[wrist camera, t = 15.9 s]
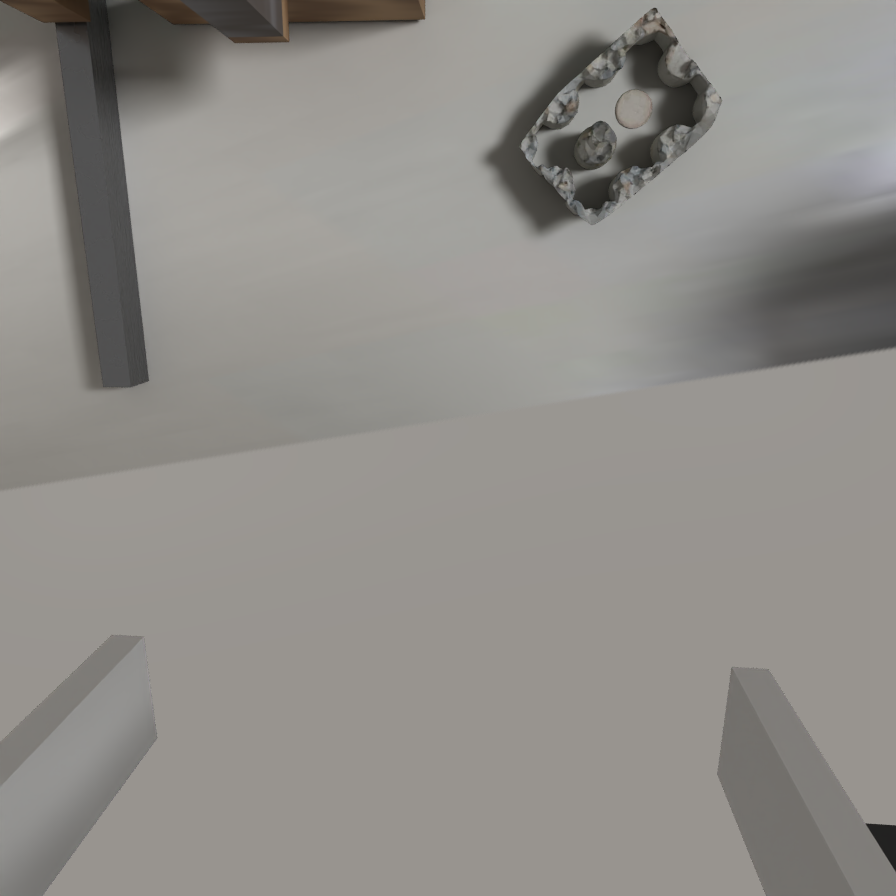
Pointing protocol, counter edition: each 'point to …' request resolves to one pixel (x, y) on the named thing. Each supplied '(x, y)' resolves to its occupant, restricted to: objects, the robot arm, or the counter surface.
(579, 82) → the egg carton
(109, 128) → the rail
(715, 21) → the counter surface
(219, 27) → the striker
